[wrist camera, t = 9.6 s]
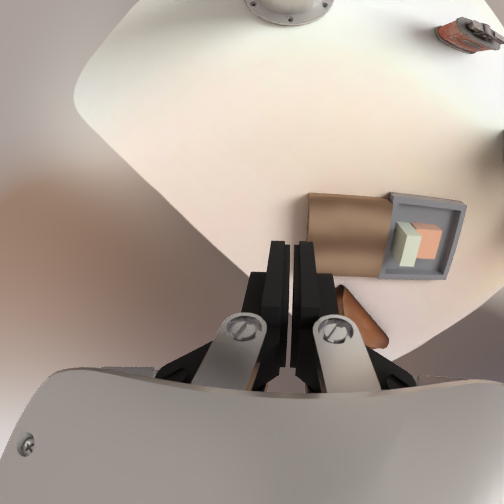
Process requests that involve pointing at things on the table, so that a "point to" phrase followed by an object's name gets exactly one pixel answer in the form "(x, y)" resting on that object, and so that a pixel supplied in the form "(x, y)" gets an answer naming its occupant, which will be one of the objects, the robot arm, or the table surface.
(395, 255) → the pale green rectangular block
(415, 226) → the tile
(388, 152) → the table surface
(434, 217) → the tray
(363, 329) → the sunglasses case
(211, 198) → the table surface
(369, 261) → the brown square slab
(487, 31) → the lighter
